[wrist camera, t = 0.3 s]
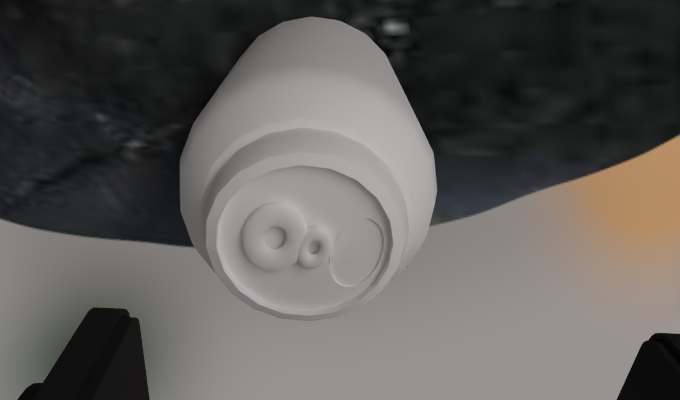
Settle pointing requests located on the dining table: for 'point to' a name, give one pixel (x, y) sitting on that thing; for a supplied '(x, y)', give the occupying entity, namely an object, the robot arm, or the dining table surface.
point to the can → (308, 173)
